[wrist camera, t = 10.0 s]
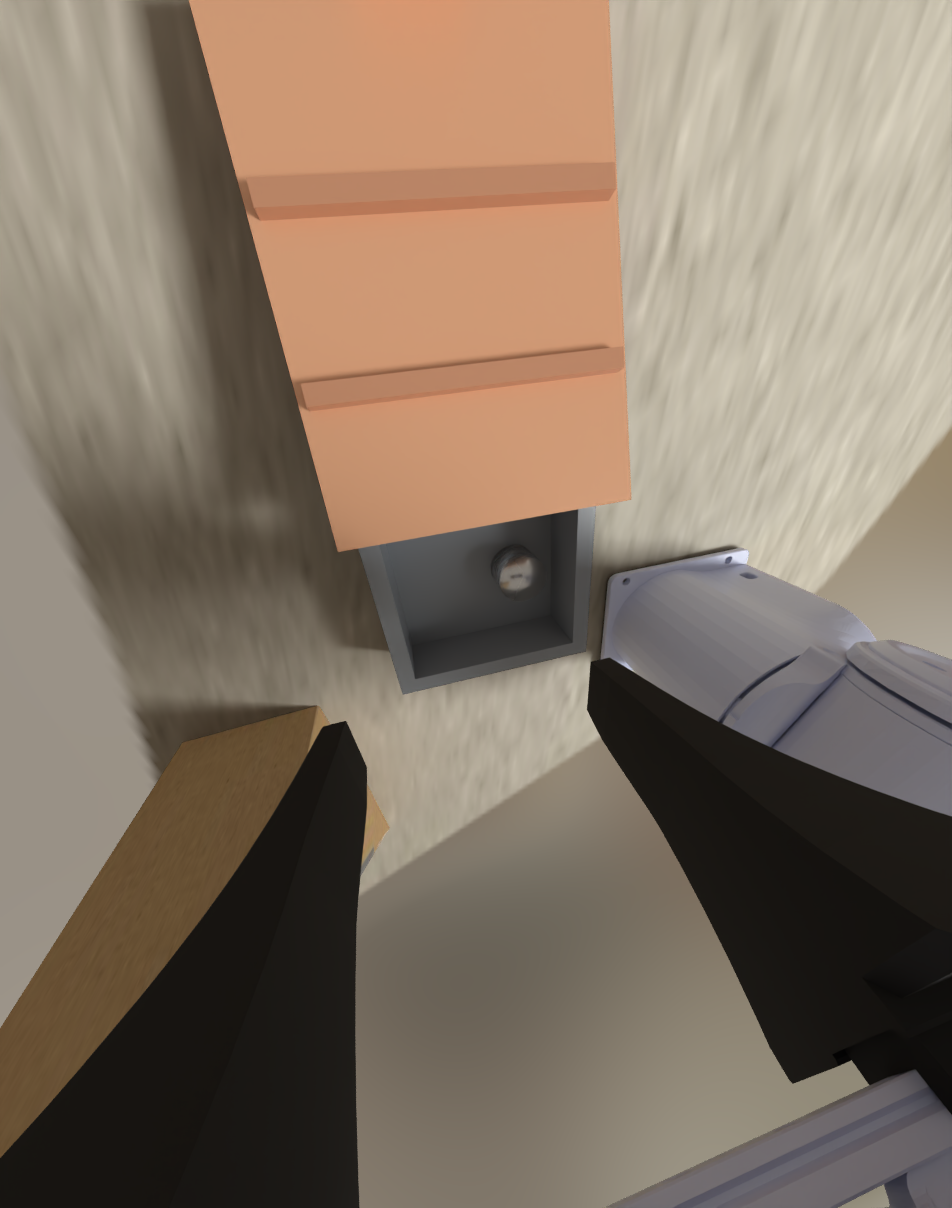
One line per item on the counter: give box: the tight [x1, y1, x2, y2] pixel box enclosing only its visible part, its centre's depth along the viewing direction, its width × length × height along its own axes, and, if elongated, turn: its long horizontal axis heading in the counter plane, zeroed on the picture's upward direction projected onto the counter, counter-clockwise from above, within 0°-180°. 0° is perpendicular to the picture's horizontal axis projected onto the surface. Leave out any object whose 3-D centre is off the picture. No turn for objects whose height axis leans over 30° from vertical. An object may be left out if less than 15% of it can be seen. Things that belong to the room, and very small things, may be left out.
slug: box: [491, 545, 546, 601], centre depth 18 cm, size 2×2×2 cm
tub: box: [358, 506, 596, 694], centre depth 16 cm, size 10×13×4 cm
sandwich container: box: [0, 706, 389, 1158], centre depth 18 cm, size 9×15×15 cm, turn 10°
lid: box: [189, 0, 631, 552], centre depth 9 cm, size 11×18×3 cm, turn 7°
